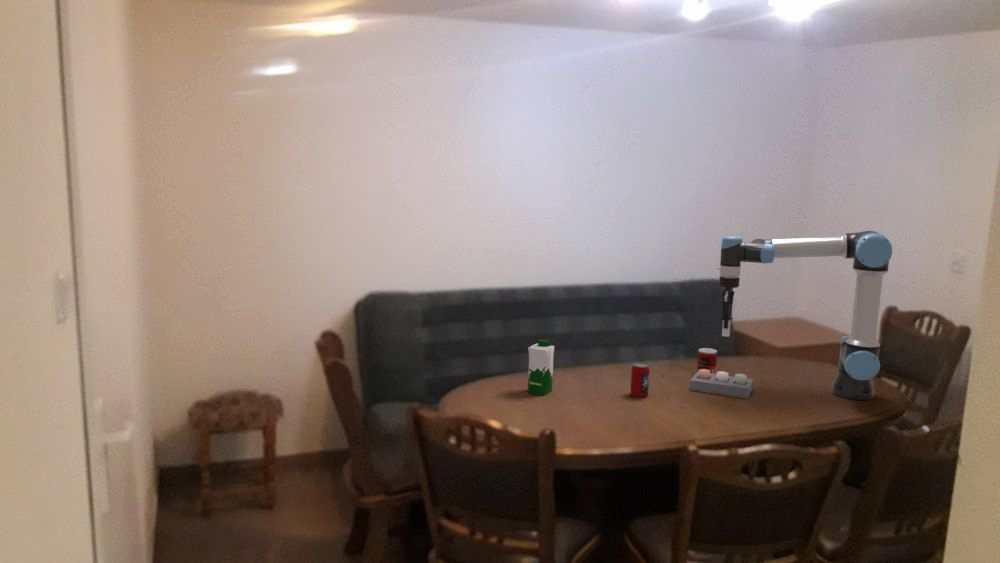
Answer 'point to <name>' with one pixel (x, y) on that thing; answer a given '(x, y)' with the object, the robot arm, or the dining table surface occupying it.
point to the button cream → (722, 376)
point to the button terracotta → (704, 374)
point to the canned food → (707, 359)
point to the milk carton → (540, 368)
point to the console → (721, 386)
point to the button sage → (740, 379)
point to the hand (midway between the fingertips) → (725, 336)
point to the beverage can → (640, 380)
